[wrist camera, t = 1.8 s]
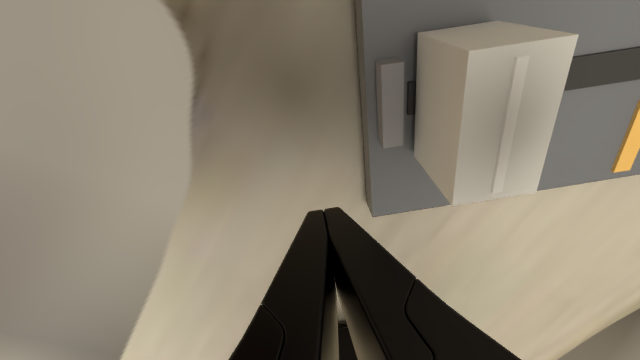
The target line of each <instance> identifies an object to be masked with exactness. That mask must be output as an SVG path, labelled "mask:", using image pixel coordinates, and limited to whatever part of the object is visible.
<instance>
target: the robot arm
mask: <svg viewBox="0 0 640 360" xmlns="http://www.w3.org/2000/svg"><path fill="white" fill-rule="evenodd" d="M334 277H335V278H334ZM335 283H336V285H335ZM336 288H337V292H338V296H339V300H340V303H341V306H342V309H343V313H344V316H345V319H346V323H347V325H341V326H338V317H337V295H336ZM229 360H521V359H520V358H518V357H517V356H515V355H514V354H513V353H511V352H510V351H509V350H507V349H506V348H505V347H503V346H502V345H500V344H499V343H498V342H496V341H495V340H494V339H492V338H491V337H490V336H488V335H487V334H485V333H484V332H483V331H481V330H480V329H479V328H477V327H476V326H475V325H473V324H472V323H470V322H469V321H468V320H467V319H465V318H464V317H463V316H461V315H460V314H459V313H457V312H456V311H455V310H454V309H452V308H451V307H450V306H448V305H447V304H446V303H445V302H444V301H442V300H441V299H440V298H439V297H438V296H437V295H435V294H434V293H433V292H432V291H431V290H430V289H428V288H427V287H426V286H425V285H424V284H423V283H422V282H421V281H420V280H419V279H416V277H415V276H414V275H413V274H412V273H411V272H410V271H409V270H408V269H406V268H405V267H404V266H403V265H402V264H401V263H400V262H399V261H398V260H397V259H395V258H394V257H393V256H392V255H391V254H390V253H389V252H388V251H387V250H386V249H385V248H383V247H382V246H381V245H380V244H379V243H378V242H377V241H376V240H375V239H374V238H372V237H371V236H370V235H369V234H368V233H367V232H366V231H365V230H364V229H363V228H361V227H360V226H359V225H358V224H357V223H356V222H355V221H354V220H353V219H352V218H351V217H349V216H348V215H347V214H346V213H345V212H344V211H343V210H342V209H341V208H339V207H334V208H328V209H325V210H324V211H323V210H315V211H310V212H308V213H307V215H306V217H305V219H304V221H303V223H302V225H301V227H300V229H299V231H298V232H297V234H296V236H295V238H294V240H293V242H292V244H291V246H290V248H289V250H288V252H287V254H286V256H285V258H284V260H283V262H282V263H281V265H280V267H279V269H278V271H277V273H276V275H275V277H274V279H273V281H272V283H271V285H270V287H269V289H268V291H267V293H266V294H265V296H264V298H263V300H262V302H261V305H260V306H259V308H258V310H257V312H256V314H255V316H254V317H253V319H252V321H251V323H250V325H249V327H248V328H247V330H246V332H245V334H244V336H243V337H242V339H241V341H240V342H239V344H238V345H237V347H236V349H235V350H234V352H233V353H232V355H231V356H230V358H229Z"/></svg>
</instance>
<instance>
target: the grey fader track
mask: <svg viewBox="0 0 640 360" xmlns="http://www.w3.org/2000/svg"><path fill="white" fill-rule="evenodd" d="M355 11H356V27H357V44H358V60H359V77H360V94H361V110H362V127H363V144H364V160H365V177H366V194H367V204H368V207H369V209H370V212H371V214H372V217H377V216H383V215H390V214H396V213H402V212H408V211H415V210H421V209H427V208H433V207H439V206H446V205H451V204H450V203H449V202H448V200H447V199H446V198H445V196H444V195H443V194H442V192H441V191H440V190H439V188H438V187H437V186H436V185H435V183H434V182H433V181H432V179H431V178H430V177H429V175H428V174H427V173H426V171H425V170H424V169H423V167H422V166H421V165H420V164H419V162H418V161H417V160H416V158H415V157H414V142H415V109H416V76H417V42H418V33H419V32H426V31H432V30H439V29H445V28H452V27H459V26H465V25H472V24H479V23H485V22H492V21H503V22H509V23H515V24H520V25H526V26H532V27H538V28H544V29H550V30H556V31H562V32H568V33H573V34H579V35H578V39H577V43H576V47H575V50H574V54H573V58H572V61H571V65H570V69H569V73H568V76H567V80H566V84H565V87H564V91H563V95H562V99H561V102H560V106H559V110H558V113H557V117H556V121H555V125H554V128H553V132H552V136H551V139H550V143H549V147H548V151H547V154H546V158H545V162H544V165H543V169H542V173H541V177H540V180H539V184H538V188H537V191H539V190H545V189H551V188H558V187H564V186H570V185H576V184H583V183H589V182H595V181H601V180H607V179H614V178H620V177H626V176H632V175H639V174H640V0H355Z"/></svg>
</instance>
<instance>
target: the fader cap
mask: <svg viewBox="0 0 640 360" xmlns="http://www.w3.org/2000/svg"><path fill="white" fill-rule="evenodd" d="M578 35H579V34H573V33H568V32H562V31H556V30H550V29H544V28H538V27H532V26H526V25H520V24H515V23H509V22H503V21H492V22H485V23H479V24H472V25H465V26H459V27H452V28H445V29H439V30H432V31H426V32H419V33H418V42H417V76H416V109H415V142H414V157H415V158H416V160H417V161H418V162H419V164H420V165H421V166H422V167H423V169H424V170H425V171H426V173H427V174H428V175H429V177H430V178H431V179H432V181H433V182H434V183H435V185H436V186H437V187H438V188H439V190H440V191H441V192H442V194H443V195H444V196H445V198H446V199H447V200H448V202H449V203H450V204H451V206H457V205H463V204H470V203H476V202H482V201H488V200H494V199H501V198H507V197H513V196H519V195H525V194H532V193H536V191H537V188H538V184H539V180H540V177H541V173H542V169H543V165H544V162H545V158H546V154H547V151H548V147H549V143H550V139H551V136H552V132H553V128H554V125H555V121H556V117H557V113H558V110H559V106H560V102H561V99H562V95H563V91H564V87H565V84H566V80H567V76H568V73H569V69H570V65H571V61H572V58H573V54H574V50H575V47H576V43H577V39H578Z"/></svg>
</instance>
